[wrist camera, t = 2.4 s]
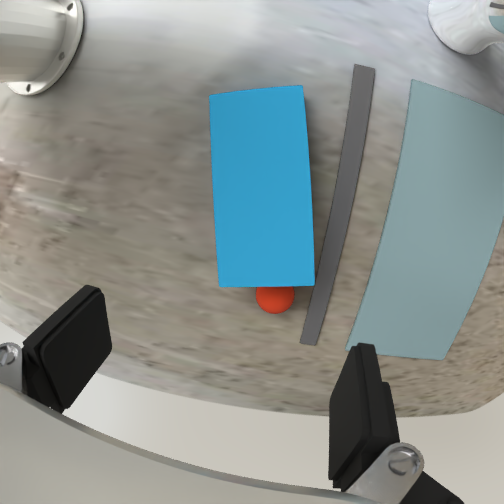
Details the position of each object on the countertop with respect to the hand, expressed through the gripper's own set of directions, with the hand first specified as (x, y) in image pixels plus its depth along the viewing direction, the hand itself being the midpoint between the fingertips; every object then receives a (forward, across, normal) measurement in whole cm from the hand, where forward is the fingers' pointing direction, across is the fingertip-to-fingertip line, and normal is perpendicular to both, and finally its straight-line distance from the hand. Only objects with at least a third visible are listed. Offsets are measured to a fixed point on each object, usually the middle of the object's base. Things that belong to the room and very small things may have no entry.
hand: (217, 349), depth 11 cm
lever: (+18, 0, -1) cm, 18 cm away
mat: (+17, -16, 0) cm, 23 cm away
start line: (+17, -6, 0) cm, 18 cm away
